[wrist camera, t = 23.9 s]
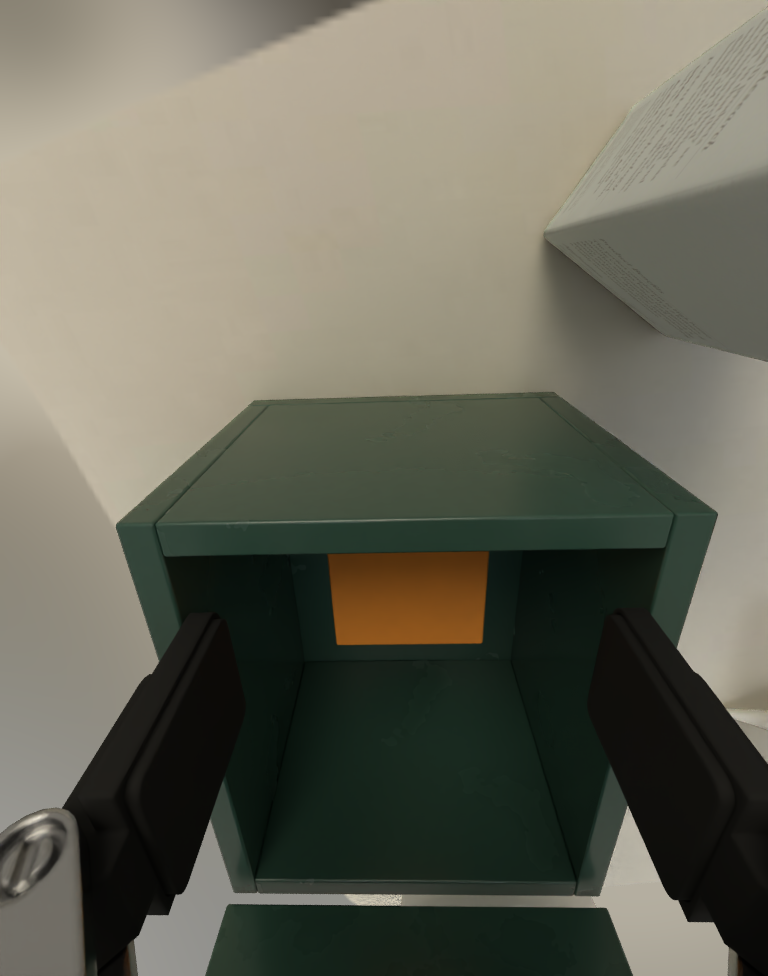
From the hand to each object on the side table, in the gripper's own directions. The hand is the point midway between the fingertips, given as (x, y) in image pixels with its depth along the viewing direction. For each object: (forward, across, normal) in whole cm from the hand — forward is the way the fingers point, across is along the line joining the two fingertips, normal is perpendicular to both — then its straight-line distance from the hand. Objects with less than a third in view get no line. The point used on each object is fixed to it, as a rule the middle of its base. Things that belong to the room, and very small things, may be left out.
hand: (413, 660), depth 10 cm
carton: (+9, 0, 0) cm, 9 cm away
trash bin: (+10, 0, +3) cm, 10 cm away
